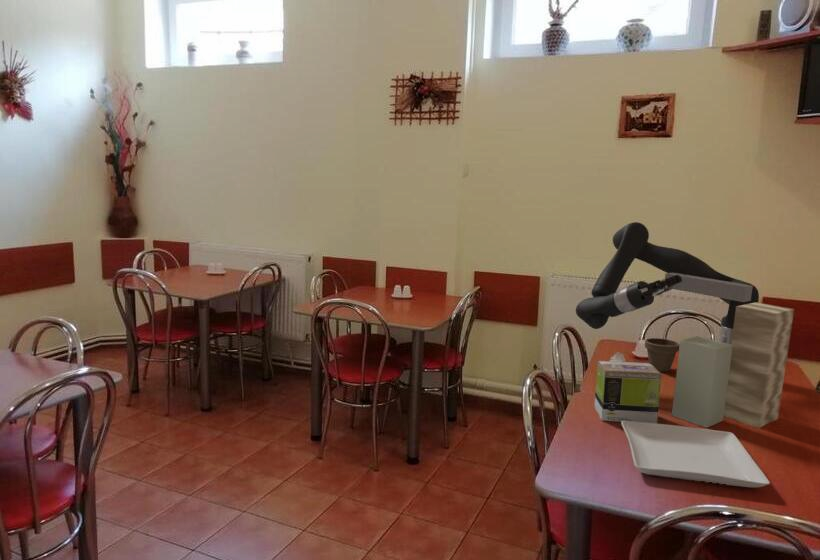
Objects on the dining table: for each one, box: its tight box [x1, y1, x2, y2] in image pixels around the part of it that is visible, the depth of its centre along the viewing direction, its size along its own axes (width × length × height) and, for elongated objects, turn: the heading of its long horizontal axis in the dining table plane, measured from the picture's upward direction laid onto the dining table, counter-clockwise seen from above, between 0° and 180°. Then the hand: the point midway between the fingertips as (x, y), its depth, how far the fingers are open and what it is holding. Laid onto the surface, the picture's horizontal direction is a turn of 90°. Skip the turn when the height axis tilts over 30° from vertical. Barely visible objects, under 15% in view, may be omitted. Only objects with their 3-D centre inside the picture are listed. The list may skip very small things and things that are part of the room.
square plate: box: [620, 421, 771, 488], centre depth 139 cm, size 27×27×4 cm
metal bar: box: [664, 272, 753, 302], centre depth 161 cm, size 4×22×4 cm, turn 37°
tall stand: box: [723, 302, 795, 429], centre depth 165 cm, size 12×10×32 cm
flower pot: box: [644, 337, 680, 373], centre depth 209 cm, size 12×11×10 cm
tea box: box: [594, 360, 662, 424], centre depth 164 cm, size 15×10×15 cm, turn 84°
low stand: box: [671, 336, 733, 429], centre depth 164 cm, size 9×10×22 cm
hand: (683, 277), depth 166 cm, fingers closed on metal bar, 4 cm apart
